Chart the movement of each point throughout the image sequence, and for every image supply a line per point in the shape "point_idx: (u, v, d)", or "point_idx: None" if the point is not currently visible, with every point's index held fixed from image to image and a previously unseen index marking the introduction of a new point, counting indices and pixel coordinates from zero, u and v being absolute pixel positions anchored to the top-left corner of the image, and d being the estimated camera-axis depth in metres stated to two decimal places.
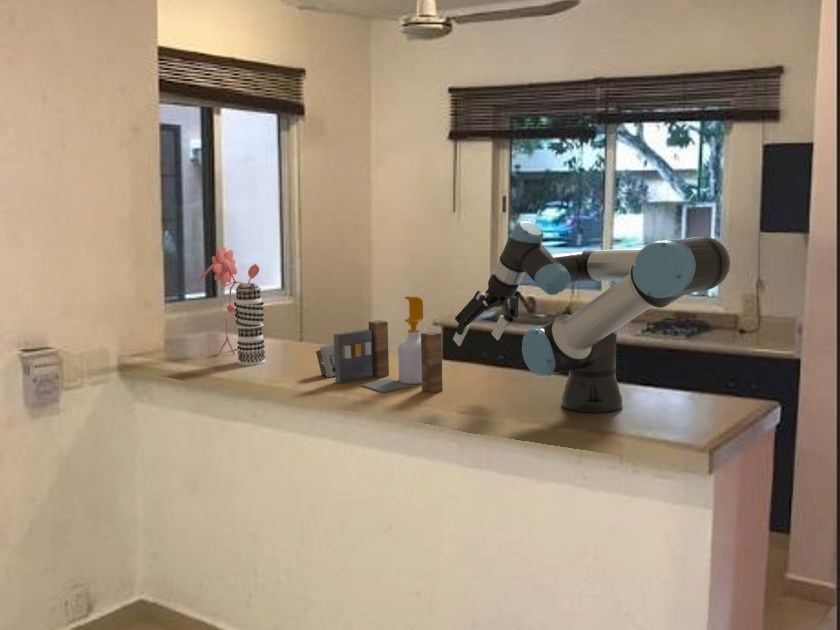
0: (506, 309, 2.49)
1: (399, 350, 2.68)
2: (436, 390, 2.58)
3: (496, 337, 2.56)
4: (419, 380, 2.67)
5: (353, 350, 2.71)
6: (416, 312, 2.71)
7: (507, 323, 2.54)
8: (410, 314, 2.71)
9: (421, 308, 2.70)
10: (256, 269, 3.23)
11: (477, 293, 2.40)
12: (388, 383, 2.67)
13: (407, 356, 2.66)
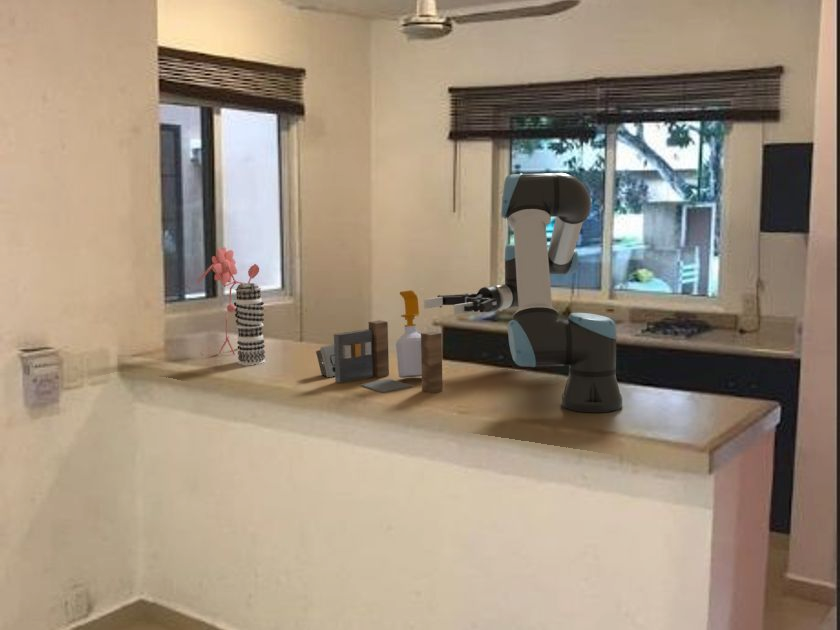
0: (477, 300, 2.77)
1: (397, 344, 2.71)
2: (436, 390, 2.58)
3: None
4: (418, 371, 2.67)
5: (353, 350, 2.71)
6: (412, 310, 2.76)
7: (471, 305, 2.71)
8: (406, 312, 2.77)
9: (416, 305, 2.76)
10: (256, 269, 3.23)
11: None
12: (388, 383, 2.67)
13: (405, 348, 2.68)
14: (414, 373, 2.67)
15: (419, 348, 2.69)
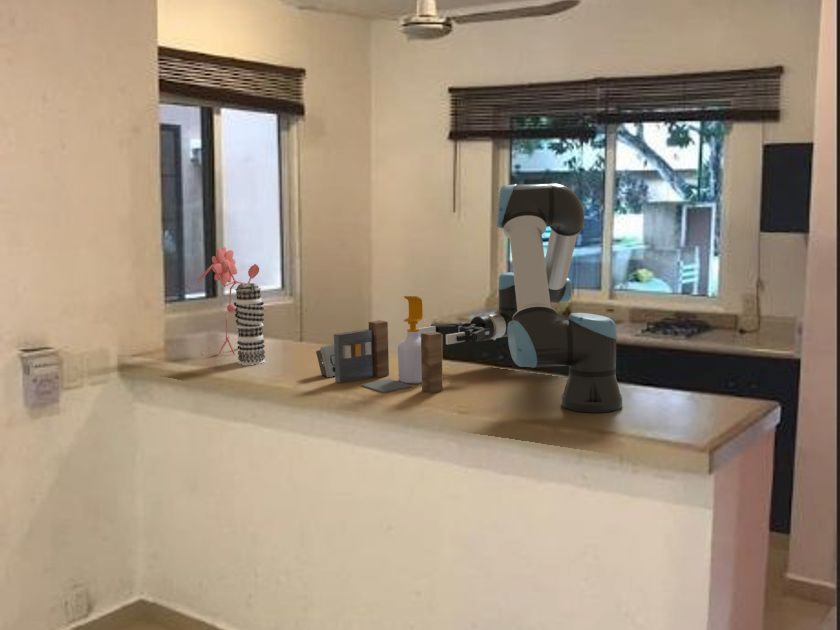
0: (470, 329, 2.77)
1: (399, 350, 2.69)
2: (436, 390, 2.58)
3: None
4: (419, 379, 2.67)
5: (353, 350, 2.71)
6: (416, 312, 2.71)
7: (463, 335, 2.71)
8: (409, 314, 2.72)
9: (420, 308, 2.70)
10: (256, 269, 3.23)
11: None
12: (388, 383, 2.67)
13: (407, 355, 2.66)
14: (414, 381, 2.67)
15: None
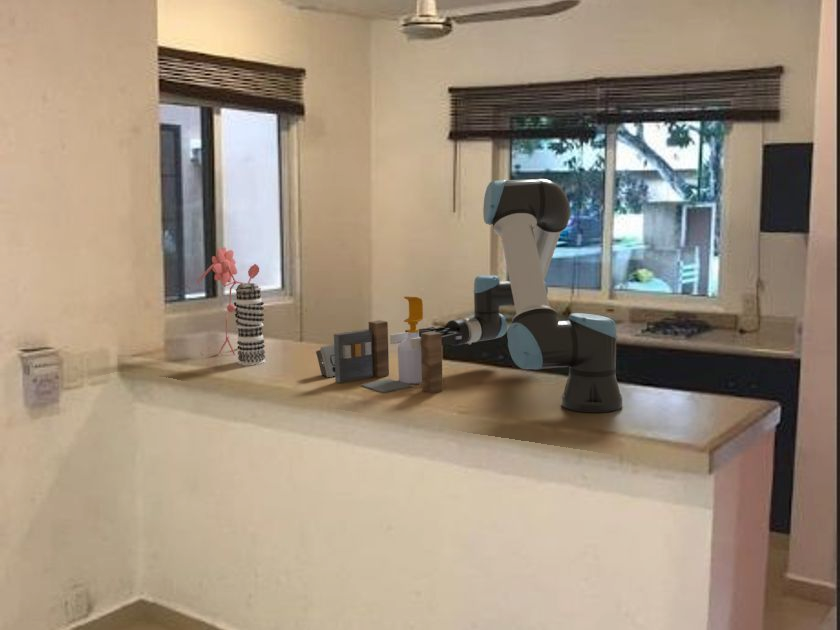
0: None
1: (399, 350, 2.68)
2: (436, 390, 2.58)
3: None
4: (419, 380, 2.67)
5: (353, 350, 2.71)
6: (416, 312, 2.71)
7: None
8: (410, 314, 2.71)
9: (421, 308, 2.70)
10: (256, 269, 3.23)
11: None
12: (388, 383, 2.67)
13: (406, 356, 2.66)
14: (414, 382, 2.67)
15: None
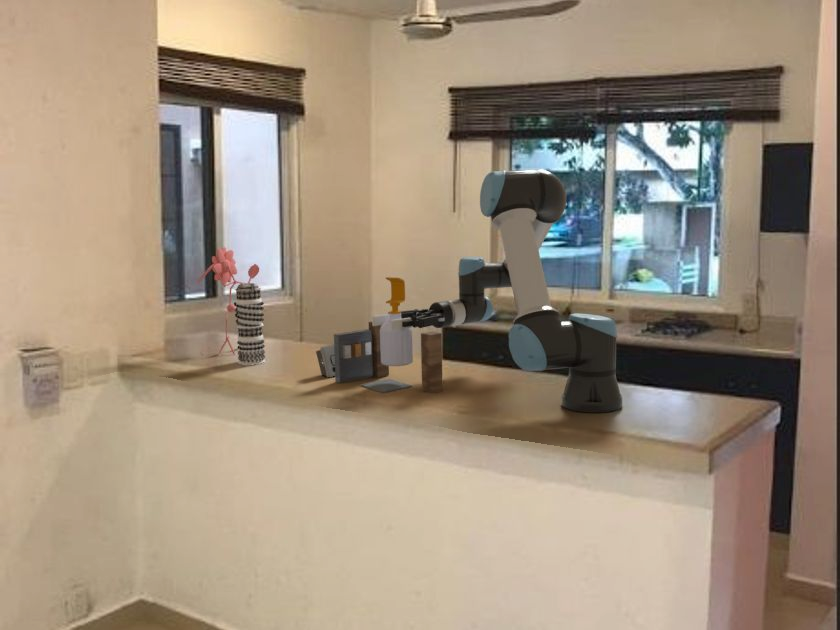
0: (422, 315, 2.67)
1: (380, 332, 2.65)
2: (436, 390, 2.58)
3: None
4: (400, 362, 2.63)
5: (353, 350, 2.71)
6: (398, 293, 2.67)
7: (409, 321, 2.61)
8: (392, 295, 2.67)
9: (403, 289, 2.66)
10: (256, 269, 3.23)
11: None
12: (388, 383, 2.67)
13: (388, 338, 2.62)
14: (396, 364, 2.63)
15: (402, 339, 2.63)
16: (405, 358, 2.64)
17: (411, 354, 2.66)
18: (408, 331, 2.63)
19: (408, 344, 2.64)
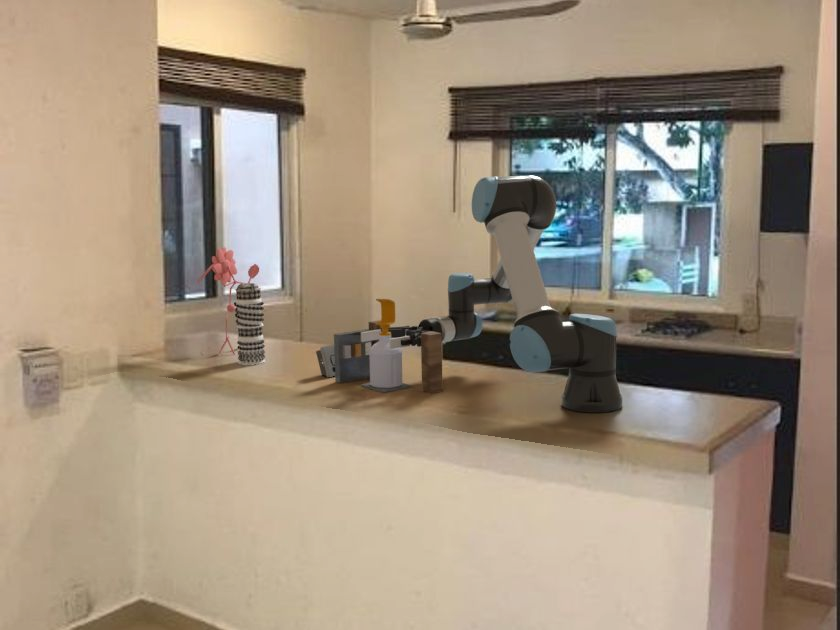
0: (416, 333, 2.64)
1: (370, 353, 2.62)
2: (436, 390, 2.58)
3: None
4: (390, 384, 2.61)
5: (353, 350, 2.71)
6: (388, 315, 2.65)
7: (408, 339, 2.58)
8: (382, 317, 2.65)
9: (393, 311, 2.64)
10: (256, 269, 3.23)
11: None
12: None
13: (378, 360, 2.60)
14: (385, 386, 2.61)
15: (392, 361, 2.61)
16: (395, 380, 2.62)
17: (401, 376, 2.64)
18: (398, 353, 2.61)
19: (398, 366, 2.62)
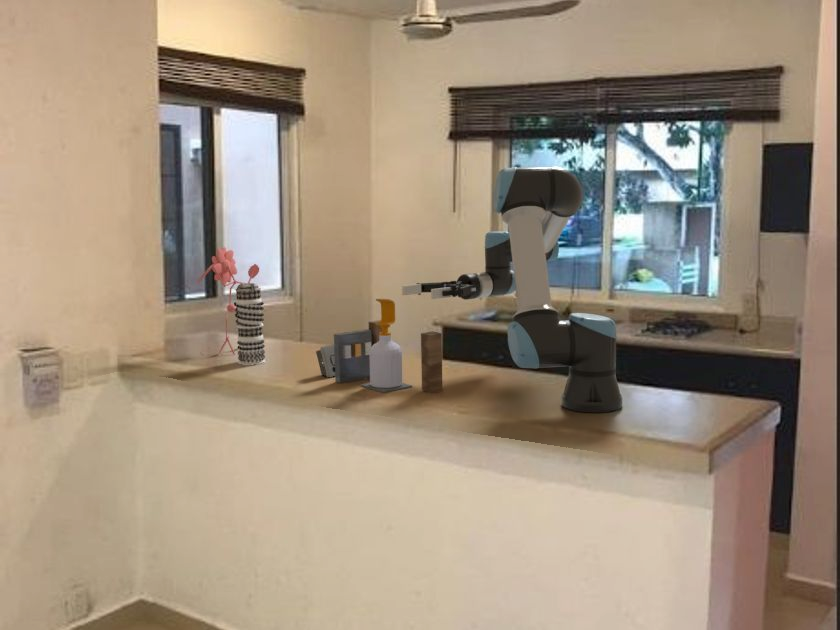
0: (456, 285, 2.72)
1: (370, 353, 2.62)
2: (436, 390, 2.58)
3: None
4: (390, 384, 2.61)
5: (353, 350, 2.71)
6: (388, 315, 2.65)
7: (449, 290, 2.66)
8: (382, 317, 2.65)
9: (393, 311, 2.64)
10: (256, 269, 3.23)
11: None
12: None
13: (378, 360, 2.60)
14: (385, 386, 2.61)
15: (392, 361, 2.61)
16: (395, 380, 2.62)
17: (401, 376, 2.64)
18: (398, 353, 2.61)
19: (398, 366, 2.62)
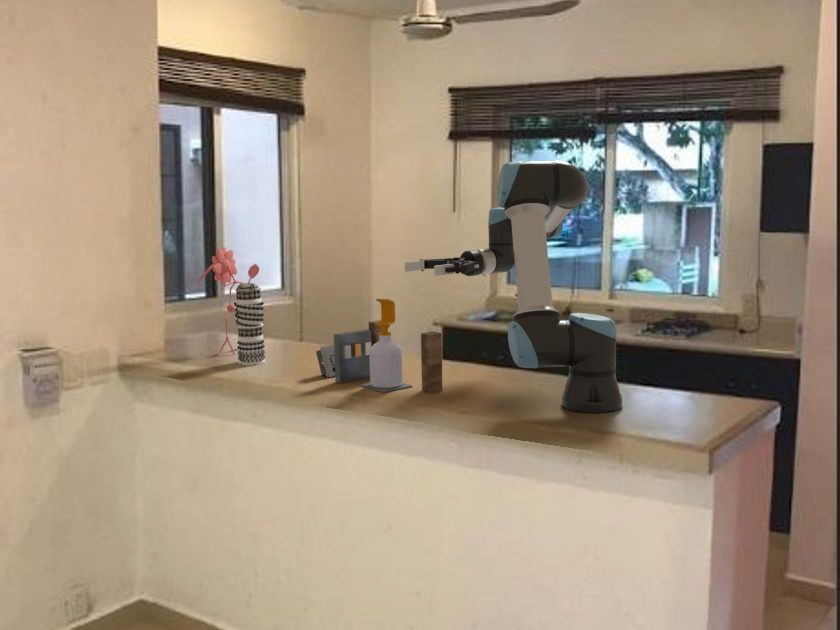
0: (459, 262, 2.71)
1: (370, 353, 2.62)
2: (436, 390, 2.58)
3: None
4: (390, 384, 2.61)
5: (353, 350, 2.71)
6: (388, 315, 2.65)
7: (452, 267, 2.65)
8: (382, 317, 2.65)
9: (393, 311, 2.64)
10: (256, 269, 3.23)
11: None
12: None
13: (378, 360, 2.60)
14: (385, 386, 2.61)
15: (392, 361, 2.61)
16: (395, 380, 2.62)
17: (401, 376, 2.64)
18: (398, 353, 2.61)
19: (398, 366, 2.62)
